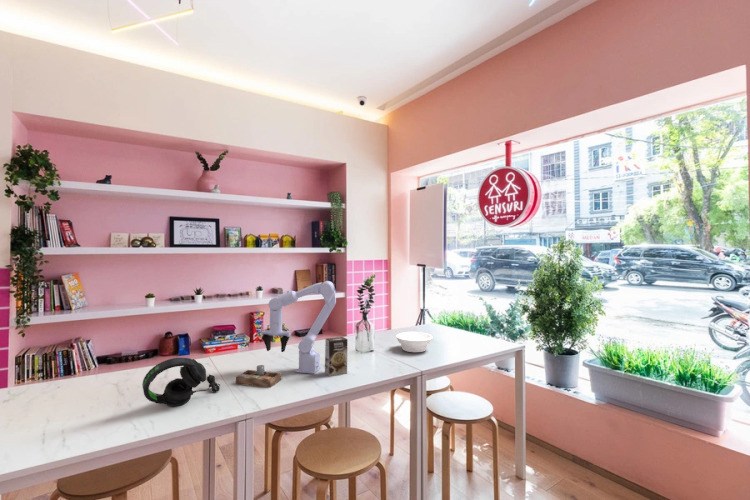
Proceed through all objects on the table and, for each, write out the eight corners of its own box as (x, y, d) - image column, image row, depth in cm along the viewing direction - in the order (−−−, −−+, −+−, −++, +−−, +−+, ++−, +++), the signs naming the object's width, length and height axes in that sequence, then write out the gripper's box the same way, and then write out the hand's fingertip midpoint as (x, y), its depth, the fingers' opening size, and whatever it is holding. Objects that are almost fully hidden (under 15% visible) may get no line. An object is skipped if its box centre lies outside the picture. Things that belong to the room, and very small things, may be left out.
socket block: (281, 379, 153) (281, 372, 153) (270, 387, 144) (270, 379, 144) (247, 376, 157) (248, 369, 157) (235, 383, 148) (235, 376, 148)
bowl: (388, 349, 201) (388, 335, 201) (412, 343, 215) (412, 330, 215) (416, 358, 186) (416, 342, 186) (439, 350, 200) (439, 336, 200)
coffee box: (329, 376, 157) (329, 341, 157) (324, 372, 163) (324, 338, 163) (347, 373, 161) (347, 339, 161) (342, 369, 167) (342, 336, 167)
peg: (264, 379, 154) (264, 364, 154) (263, 381, 151) (263, 367, 151) (257, 379, 153) (257, 365, 153) (255, 382, 150) (255, 367, 150)
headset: (206, 417, 136) (132, 405, 116) (199, 392, 146) (129, 377, 125) (236, 381, 137) (167, 363, 117) (227, 359, 147) (162, 339, 126)
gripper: (293, 321, 167) (293, 349, 167) (266, 320, 170) (266, 347, 170) (286, 324, 160) (286, 353, 160) (258, 322, 164) (258, 351, 164)
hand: (275, 350), depth 165 cm, fingers open, 7 cm apart
